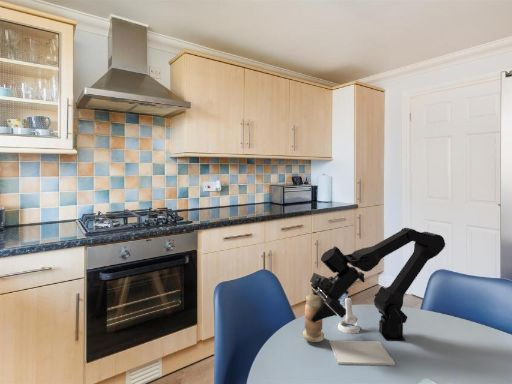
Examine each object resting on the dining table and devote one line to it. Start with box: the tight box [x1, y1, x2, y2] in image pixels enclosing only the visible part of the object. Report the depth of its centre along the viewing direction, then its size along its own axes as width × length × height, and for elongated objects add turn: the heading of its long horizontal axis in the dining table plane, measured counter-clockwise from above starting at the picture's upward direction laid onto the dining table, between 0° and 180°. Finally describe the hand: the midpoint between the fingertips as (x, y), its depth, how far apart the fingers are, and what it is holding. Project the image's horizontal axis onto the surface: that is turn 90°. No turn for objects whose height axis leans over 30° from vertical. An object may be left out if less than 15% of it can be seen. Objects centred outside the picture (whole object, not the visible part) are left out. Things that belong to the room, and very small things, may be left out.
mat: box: [329, 340, 396, 366], centre depth 95 cm, size 16×12×1 cm
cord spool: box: [302, 294, 325, 343], centre depth 102 cm, size 7×7×13 cm
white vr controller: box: [337, 297, 361, 335], centre depth 112 cm, size 8×12×7 cm
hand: (309, 316), depth 101 cm, fingers closed on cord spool, 6 cm apart
